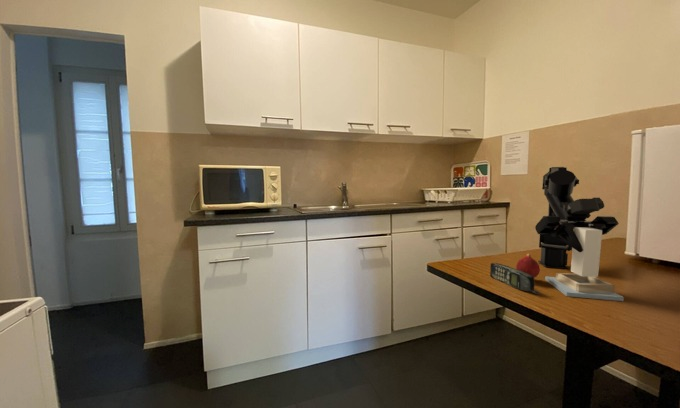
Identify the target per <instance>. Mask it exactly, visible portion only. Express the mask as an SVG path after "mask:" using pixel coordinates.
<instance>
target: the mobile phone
mask: <svg viewBox="0 0 680 408" xmlns="http://www.w3.org/2000/svg"><path fill="white" fill-rule="evenodd" d="M489 274H490V275H489V276H490V277H491V278H492V279H495V280H496V281H498V282H501V283H503V284H506V285H507V286H509V287H512V288H514V289H517V290H520V291H523V292H524V291H525V292H530V293H532V294H535V295H538V296H540V295H541V292H539V291H537V290H535V286H536V283H535V282H536V281H535V278H533V276H532V275H530V274H527V273H525V272H523V271H520V270H517V269H516V268H514V267H511V266H509V265H506V264H502V263H497V262H492V263H490V272H489Z"/></svg>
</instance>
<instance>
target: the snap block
mask: <svg viewBox="0 0 680 408" xmlns="http://www.w3.org/2000/svg"><path fill="white" fill-rule="evenodd" d="M574 233H575V235H576V237H577V238H578V240H579V242H580V244H581V246H582V249H583V251H582V252H578V251H577V250H575V249H574V248H573V247H572V250H571V252H572V253H571V264H570V272H572V274H578V275H580V276H583V277H596V278H599V268H600V260H601V257H600V256H601V251H602V249H601V248H602V237H603V235H602V230H599V229H594V228H590V227H574ZM600 250H601V251H600Z"/></svg>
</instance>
